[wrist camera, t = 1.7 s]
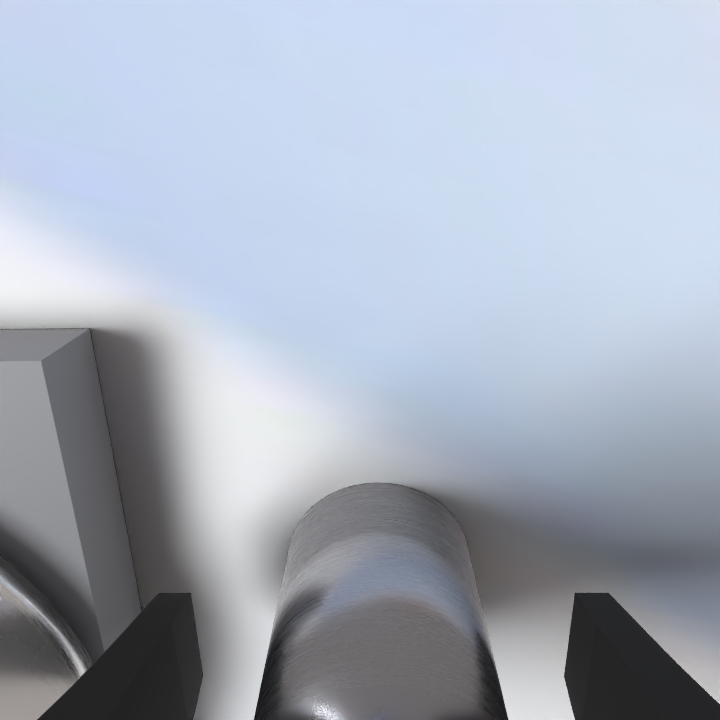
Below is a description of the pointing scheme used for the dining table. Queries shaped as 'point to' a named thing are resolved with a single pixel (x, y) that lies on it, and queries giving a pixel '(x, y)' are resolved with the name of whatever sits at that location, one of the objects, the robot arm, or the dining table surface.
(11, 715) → the pan
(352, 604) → the cylinder
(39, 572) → the scale
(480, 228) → the dining table surface
